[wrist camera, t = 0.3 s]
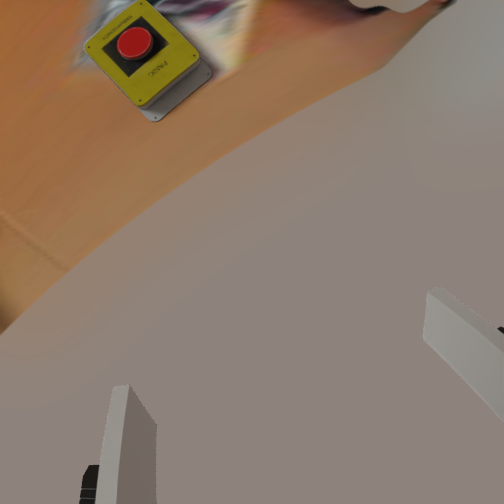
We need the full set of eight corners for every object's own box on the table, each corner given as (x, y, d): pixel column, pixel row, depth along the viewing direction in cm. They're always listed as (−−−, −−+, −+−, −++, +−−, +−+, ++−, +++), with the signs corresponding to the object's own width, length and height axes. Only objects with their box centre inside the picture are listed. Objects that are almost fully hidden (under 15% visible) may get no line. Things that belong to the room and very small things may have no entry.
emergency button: (134, -16, 22) (218, 66, 28) (139, -1, 26) (215, 75, 32) (69, 38, 23) (149, 123, 29) (81, 47, 27) (154, 125, 33)
